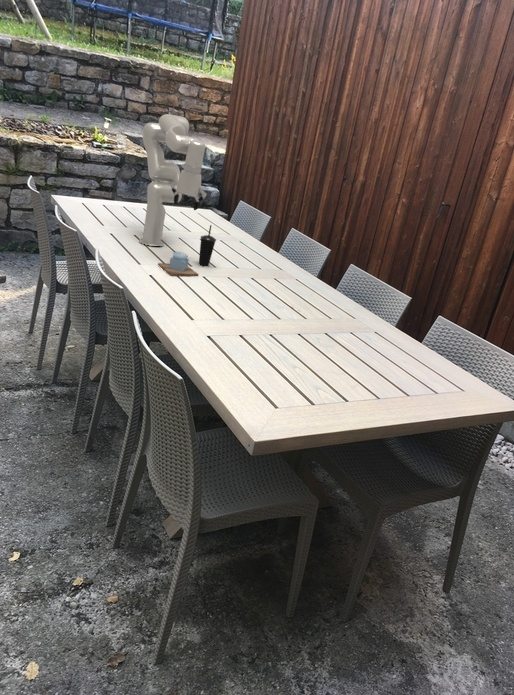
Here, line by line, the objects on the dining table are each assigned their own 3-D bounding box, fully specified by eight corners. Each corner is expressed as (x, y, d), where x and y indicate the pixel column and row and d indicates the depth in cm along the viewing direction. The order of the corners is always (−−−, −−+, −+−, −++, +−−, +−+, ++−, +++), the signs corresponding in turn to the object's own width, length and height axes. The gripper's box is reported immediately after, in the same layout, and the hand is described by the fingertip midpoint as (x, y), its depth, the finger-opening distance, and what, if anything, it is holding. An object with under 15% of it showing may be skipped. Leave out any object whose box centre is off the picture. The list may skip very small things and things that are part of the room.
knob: (168, 268, 266) (171, 253, 263) (173, 265, 272) (176, 250, 269) (182, 272, 265) (185, 256, 262) (187, 268, 271) (190, 253, 268)
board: (157, 265, 270) (158, 263, 270) (184, 266, 278) (185, 264, 278) (170, 276, 260) (170, 273, 259) (198, 276, 268) (198, 274, 267)
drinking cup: (212, 264, 291) (219, 225, 283) (209, 268, 284) (217, 228, 276) (197, 261, 291) (204, 222, 283) (194, 265, 284) (201, 224, 276)
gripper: (171, 165, 260) (165, 202, 267) (207, 175, 258) (200, 213, 265) (177, 163, 266) (171, 200, 273) (212, 173, 264) (205, 210, 272)
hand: (185, 206), depth 269 cm, fingers open, 9 cm apart
